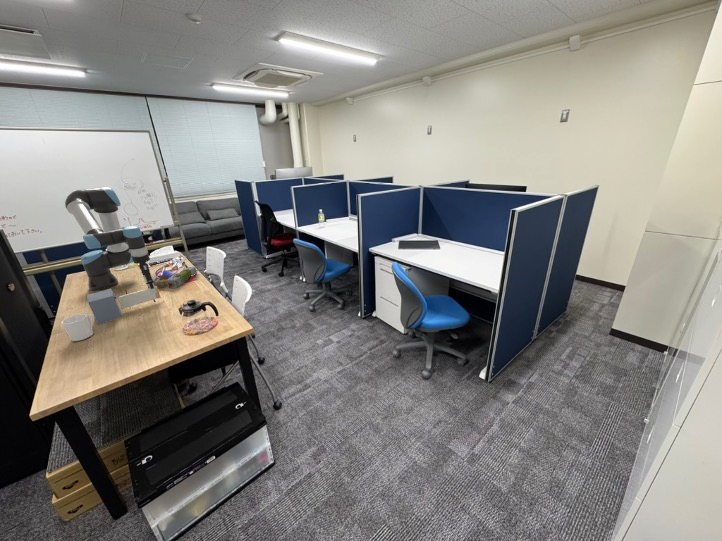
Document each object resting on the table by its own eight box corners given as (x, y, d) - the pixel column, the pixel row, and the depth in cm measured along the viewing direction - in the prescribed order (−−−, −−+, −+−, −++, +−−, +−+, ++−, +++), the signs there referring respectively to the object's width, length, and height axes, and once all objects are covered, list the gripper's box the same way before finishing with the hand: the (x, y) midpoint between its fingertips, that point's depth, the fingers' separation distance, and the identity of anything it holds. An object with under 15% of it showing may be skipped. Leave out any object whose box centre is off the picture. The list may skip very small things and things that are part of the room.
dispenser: (96, 315, 158) (87, 294, 153) (120, 308, 164) (112, 288, 159) (97, 324, 149) (88, 302, 144) (123, 316, 156) (114, 295, 151)
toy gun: (173, 276, 211) (200, 274, 210) (147, 292, 185) (177, 290, 185) (170, 267, 208) (197, 265, 207) (143, 282, 183) (174, 280, 182)
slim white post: (122, 307, 160) (118, 296, 158) (160, 296, 171) (156, 286, 169) (122, 308, 159) (118, 297, 157) (160, 297, 170) (157, 286, 168)
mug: (74, 344, 134) (64, 326, 130) (67, 339, 138) (58, 320, 134) (103, 332, 142) (95, 314, 138) (96, 327, 147) (88, 310, 143)
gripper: (128, 251, 165) (140, 284, 173) (135, 262, 148) (147, 299, 156) (144, 248, 169) (154, 280, 178) (152, 258, 153) (163, 294, 161)
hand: (151, 289), depth 167 cm, fingers open, 13 cm apart
